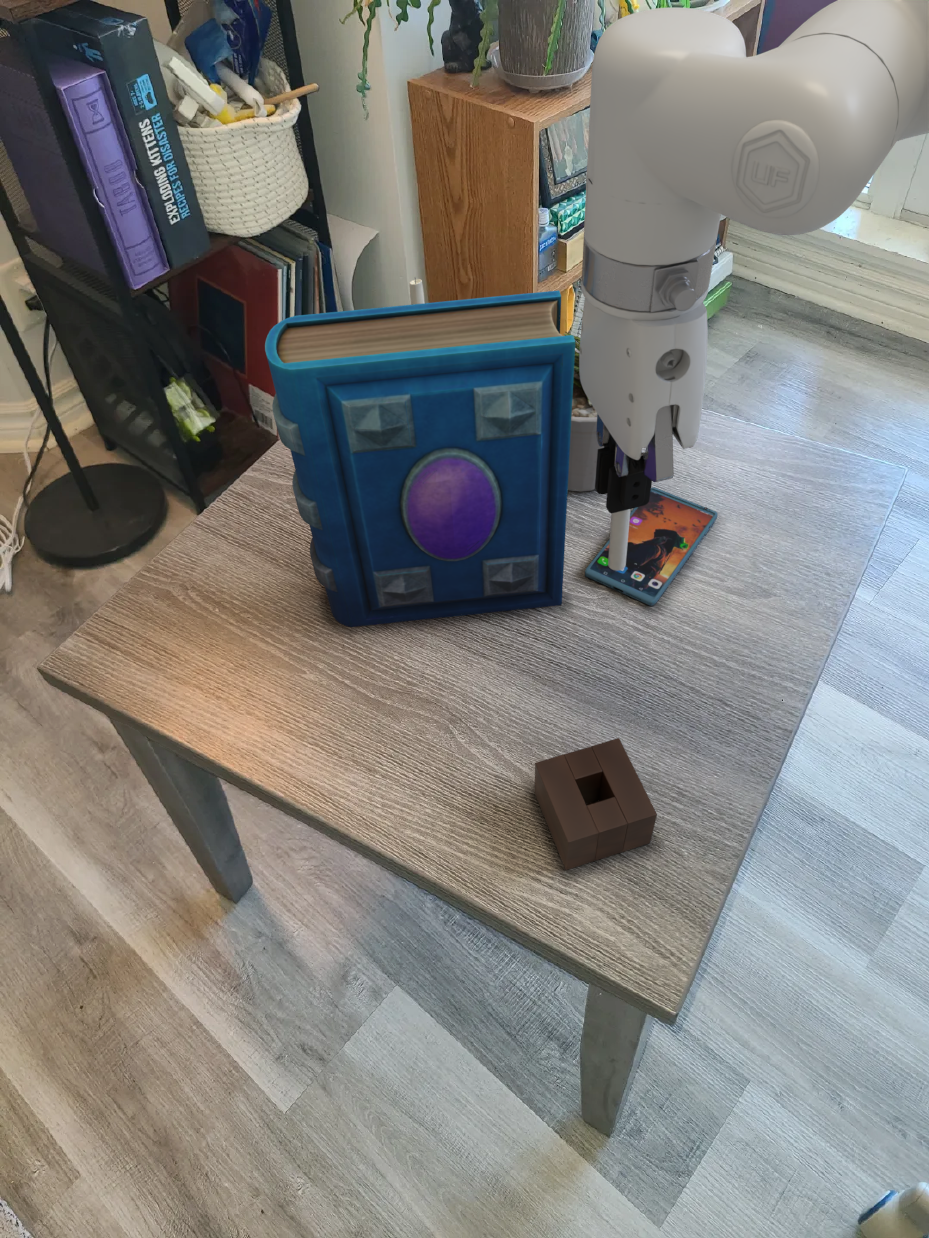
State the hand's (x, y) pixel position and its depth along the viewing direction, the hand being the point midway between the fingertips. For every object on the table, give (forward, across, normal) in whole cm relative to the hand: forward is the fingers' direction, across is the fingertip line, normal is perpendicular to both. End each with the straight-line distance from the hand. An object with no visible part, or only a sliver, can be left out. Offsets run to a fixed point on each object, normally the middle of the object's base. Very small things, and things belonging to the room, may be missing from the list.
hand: (621, 496), depth 67 cm
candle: (+23, +49, +4) cm, 54 cm away
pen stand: (+23, -13, +6) cm, 27 cm away
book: (+23, +15, +12) cm, 30 cm away
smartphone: (+23, +14, -11) cm, 29 cm away
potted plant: (+23, +28, -9) cm, 37 cm away
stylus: (+7, 0, 0) cm, 7 cm away
